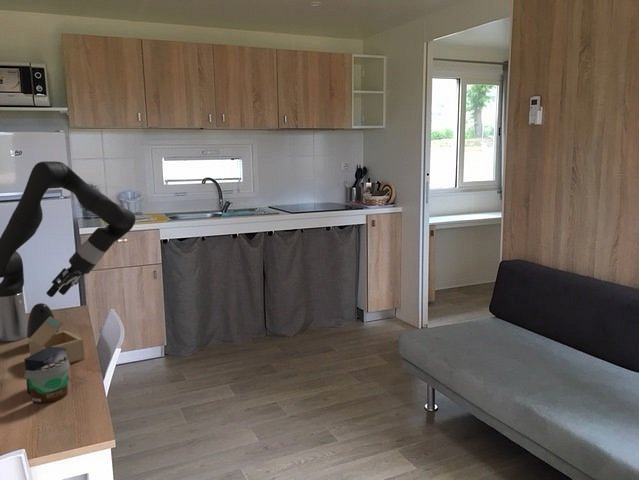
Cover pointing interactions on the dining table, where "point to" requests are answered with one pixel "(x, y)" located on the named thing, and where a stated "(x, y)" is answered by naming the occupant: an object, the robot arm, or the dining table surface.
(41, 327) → the flap
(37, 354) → the small box
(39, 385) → the food container
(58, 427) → the dining table surface
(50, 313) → the black egg-shaped piece
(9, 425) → the dining table surface
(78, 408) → the dining table surface
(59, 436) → the dining table surface
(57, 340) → the carton
